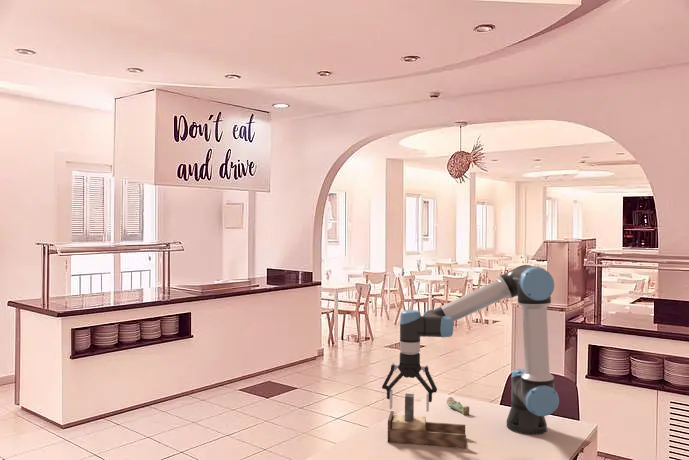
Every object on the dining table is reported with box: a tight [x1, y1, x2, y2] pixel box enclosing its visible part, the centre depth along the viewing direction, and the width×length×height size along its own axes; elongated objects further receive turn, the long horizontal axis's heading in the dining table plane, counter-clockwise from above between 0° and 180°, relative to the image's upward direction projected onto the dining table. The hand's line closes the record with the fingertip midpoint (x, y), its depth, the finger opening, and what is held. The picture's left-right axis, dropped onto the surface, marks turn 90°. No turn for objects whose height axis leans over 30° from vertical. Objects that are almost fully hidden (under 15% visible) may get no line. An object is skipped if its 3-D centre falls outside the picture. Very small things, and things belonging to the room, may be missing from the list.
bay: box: [387, 410, 467, 450], centre depth 207 cm, size 28×11×8 cm, turn 79°
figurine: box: [446, 396, 470, 416], centre depth 242 cm, size 6×15×4 cm, turn 11°
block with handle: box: [392, 393, 427, 431], centre depth 208 cm, size 12×8×15 cm
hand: (409, 409), depth 208 cm, fingers open, 13 cm apart
